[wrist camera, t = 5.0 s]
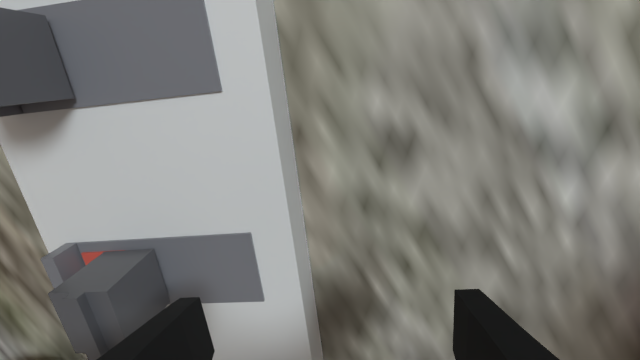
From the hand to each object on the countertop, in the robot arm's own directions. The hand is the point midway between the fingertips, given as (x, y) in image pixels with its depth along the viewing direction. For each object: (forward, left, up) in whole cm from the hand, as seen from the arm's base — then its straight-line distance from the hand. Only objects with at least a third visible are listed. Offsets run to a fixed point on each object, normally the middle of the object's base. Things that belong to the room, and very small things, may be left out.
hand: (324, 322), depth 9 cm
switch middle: (+7, -4, -3) cm, 8 cm away
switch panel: (+5, -3, -5) cm, 8 cm away
